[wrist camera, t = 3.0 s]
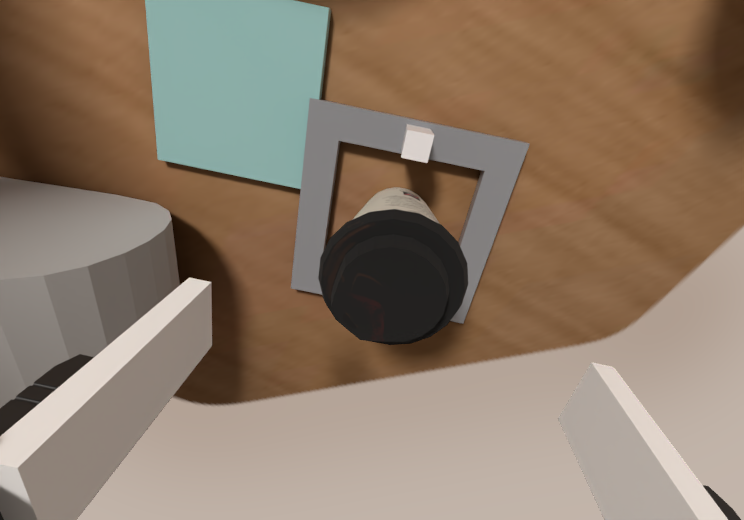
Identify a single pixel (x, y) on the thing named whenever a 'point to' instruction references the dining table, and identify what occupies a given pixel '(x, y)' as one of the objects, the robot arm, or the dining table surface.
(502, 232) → the dining table surface
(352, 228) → the coffee cup
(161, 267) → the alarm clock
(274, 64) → the coaster
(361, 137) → the collar
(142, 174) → the dining table surface
